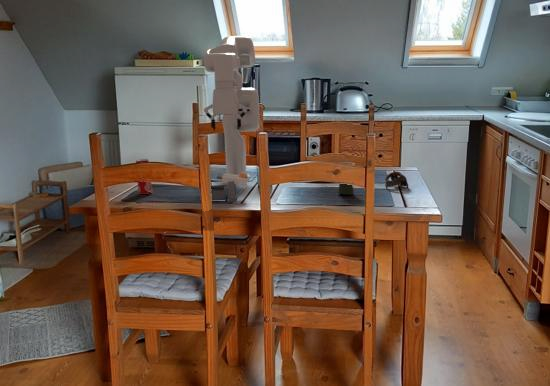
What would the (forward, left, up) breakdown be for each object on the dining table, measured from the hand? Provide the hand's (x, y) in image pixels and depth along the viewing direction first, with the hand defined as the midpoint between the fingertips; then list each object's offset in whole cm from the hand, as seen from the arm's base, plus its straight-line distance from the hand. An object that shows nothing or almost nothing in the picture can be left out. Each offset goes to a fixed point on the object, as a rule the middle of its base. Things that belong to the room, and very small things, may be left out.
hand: (226, 129), depth 233 cm
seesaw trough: (-3, +1, -22) cm, 22 cm away
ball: (0, +6, -19) cm, 20 cm away
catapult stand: (0, +1, -29) cm, 29 cm away
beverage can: (-13, -37, -29) cm, 48 cm away
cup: (0, -5, -29) cm, 29 cm away
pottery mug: (-12, +71, -29) cm, 78 cm away
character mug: (-2, +48, -29) cm, 56 cm away
